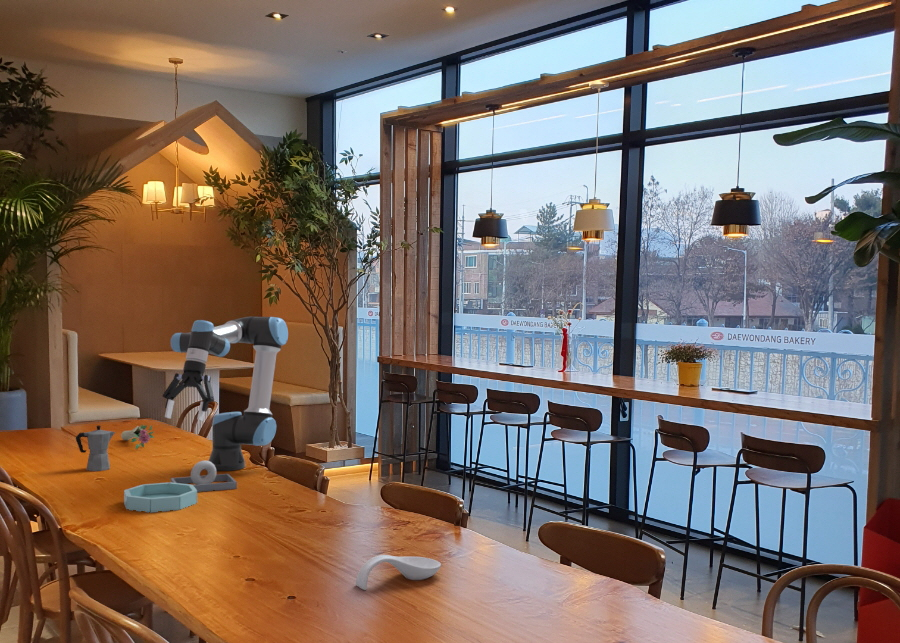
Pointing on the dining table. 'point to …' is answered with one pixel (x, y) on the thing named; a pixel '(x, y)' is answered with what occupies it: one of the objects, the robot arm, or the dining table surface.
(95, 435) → the coffeepot
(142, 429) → the flower vase
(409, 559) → the spoon rest
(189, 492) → the bowl
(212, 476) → the donut
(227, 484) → the grey rectangular frame
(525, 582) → the dining table surface
